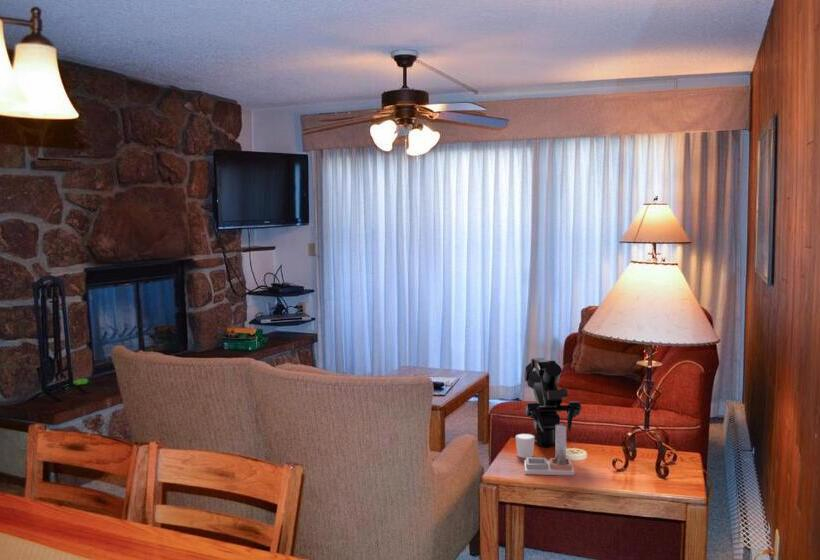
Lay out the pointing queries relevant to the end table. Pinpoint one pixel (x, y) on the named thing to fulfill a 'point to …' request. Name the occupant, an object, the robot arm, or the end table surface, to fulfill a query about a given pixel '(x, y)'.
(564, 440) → the steel pin
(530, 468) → the grey compartment tray
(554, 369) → the robot arm
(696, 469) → the end table surface
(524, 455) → the white cup
